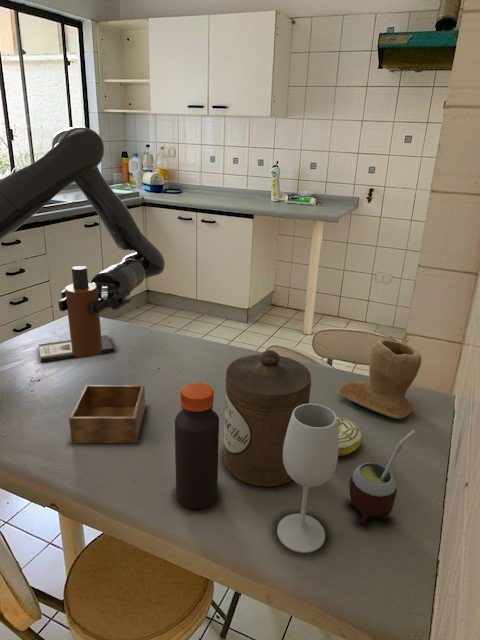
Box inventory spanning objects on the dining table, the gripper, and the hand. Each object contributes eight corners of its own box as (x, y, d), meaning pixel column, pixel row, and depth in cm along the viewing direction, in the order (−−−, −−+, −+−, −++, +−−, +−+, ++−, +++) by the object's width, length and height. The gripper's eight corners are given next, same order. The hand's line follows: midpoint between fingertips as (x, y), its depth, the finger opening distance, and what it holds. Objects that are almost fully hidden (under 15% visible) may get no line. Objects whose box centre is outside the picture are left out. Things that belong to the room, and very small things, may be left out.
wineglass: (315, 510, 74) (329, 398, 66) (334, 549, 67) (352, 429, 60) (270, 517, 73) (279, 402, 65) (284, 557, 66) (297, 435, 58)
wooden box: (71, 443, 88) (68, 418, 86) (87, 407, 99) (85, 384, 97) (136, 443, 89) (135, 418, 86) (145, 407, 100) (144, 385, 98)
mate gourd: (339, 517, 73) (351, 439, 67) (355, 488, 79) (368, 414, 74) (386, 539, 70) (403, 458, 64) (399, 506, 76) (416, 430, 70)
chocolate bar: (113, 348, 124) (40, 358, 116) (113, 351, 124) (41, 362, 117) (107, 335, 131) (38, 344, 124) (107, 338, 132) (39, 347, 124)
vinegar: (221, 484, 79) (224, 382, 71) (211, 514, 73) (213, 405, 65) (183, 478, 80) (182, 376, 73) (170, 506, 74) (167, 398, 66)
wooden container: (222, 435, 92) (225, 333, 84) (296, 434, 93) (306, 334, 85) (224, 488, 78) (227, 373, 70) (311, 487, 79) (324, 374, 71)
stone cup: (421, 406, 104) (434, 346, 99) (398, 428, 96) (411, 364, 90) (360, 382, 114) (369, 326, 108) (335, 400, 105) (343, 341, 100)
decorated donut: (327, 420, 98) (329, 405, 97) (370, 445, 90) (373, 429, 89) (293, 438, 92) (295, 422, 90) (336, 467, 84) (339, 450, 83)
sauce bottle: (68, 357, 94) (58, 271, 87) (76, 344, 99) (67, 263, 92) (98, 357, 94) (91, 272, 87) (105, 344, 100) (98, 263, 93)
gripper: (85, 264, 106) (40, 286, 90) (144, 270, 103) (108, 294, 88) (87, 295, 108) (45, 321, 93) (145, 301, 106) (111, 330, 91)
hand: (76, 308), depth 91 cm, fingers closed on sauce bottle, 6 cm apart
